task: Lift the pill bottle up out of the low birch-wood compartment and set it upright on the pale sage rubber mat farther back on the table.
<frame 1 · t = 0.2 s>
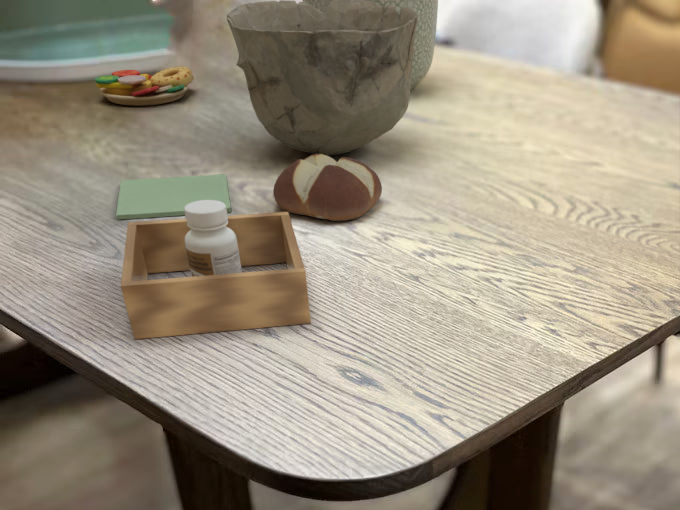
planter: (374, 90, 134), on the table
bread: (331, 207, 94), on the table
compartment: (220, 296, 76), on the table
bowl: (333, 152, 109), on the table
toy food set: (147, 98, 128), on the table
mat: (174, 198, 95), on the table
pill bottle: (221, 298, 76), resting in compartment
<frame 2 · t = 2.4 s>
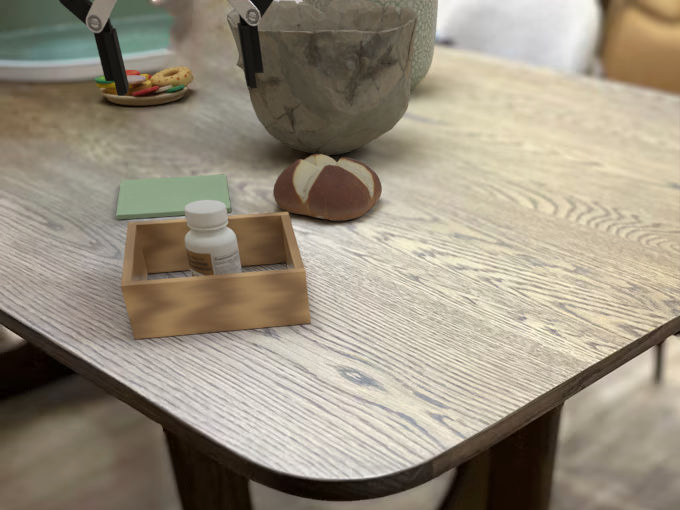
hand: (188, 88, 65), 16 cm above the table, tool pointing down, fingers open, 9 cm apart
nothing on the table moved.
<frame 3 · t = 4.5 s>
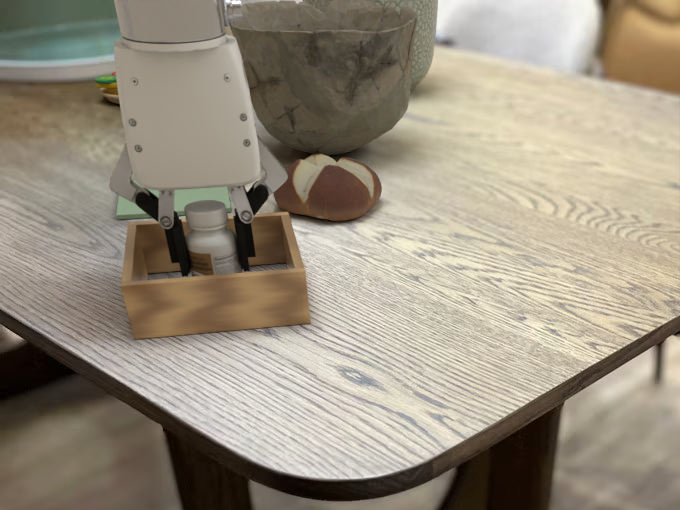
hand: (215, 265, 74), 3 cm above the table, tool pointing down, fingers closed on pill bottle, 4 cm apart
pill bottle: (221, 298, 76), resting in compartment, touching gripper
everything else where it was.
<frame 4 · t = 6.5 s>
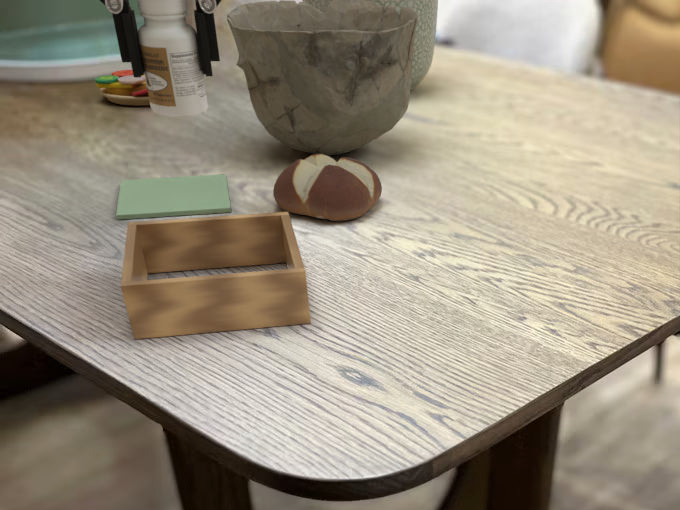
hand: (173, 70, 65), 17 cm above the table, tool pointing down, fingers closed on pill bottle, 4 cm apart
pill bottle: (180, 113, 67), point 14 cm above the table, touching gripper
everything else where it was.
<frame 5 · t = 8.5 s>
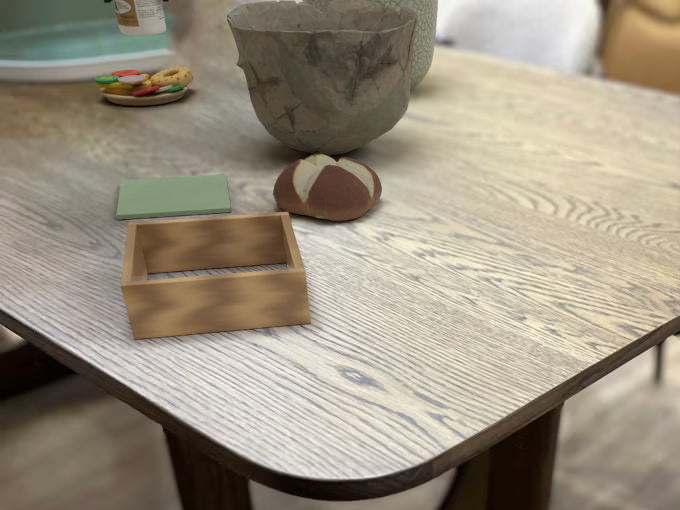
pill bottle: (144, 34, 82), point 16 cm above the table, touching gripper
everything else where it was.
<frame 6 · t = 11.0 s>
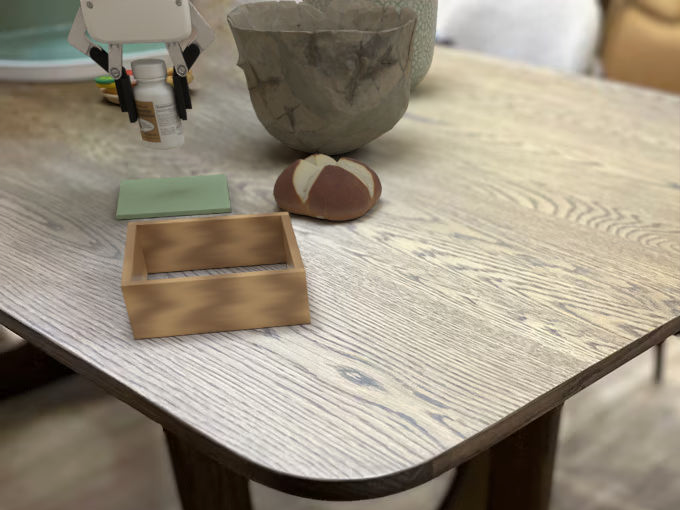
hand: (158, 116, 89), 8 cm above the table, tool pointing down, fingers closed on pill bottle, 4 cm apart
pill bottle: (164, 146, 91), point 5 cm above the table, touching gripper
everything else where it was.
when the fingers open (3 cm above the table, at t = 12.6 s): pill bottle stays where it is, resting on mat.
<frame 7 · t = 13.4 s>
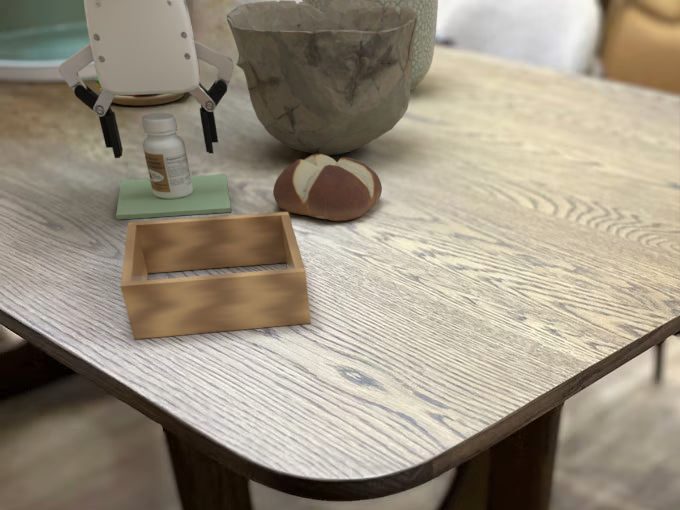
hand: (164, 152, 92), 5 cm above the table, tool pointing down, fingers open, 9 cm apart
pill bottle: (173, 195, 95), resting on mat
everything else where it was.
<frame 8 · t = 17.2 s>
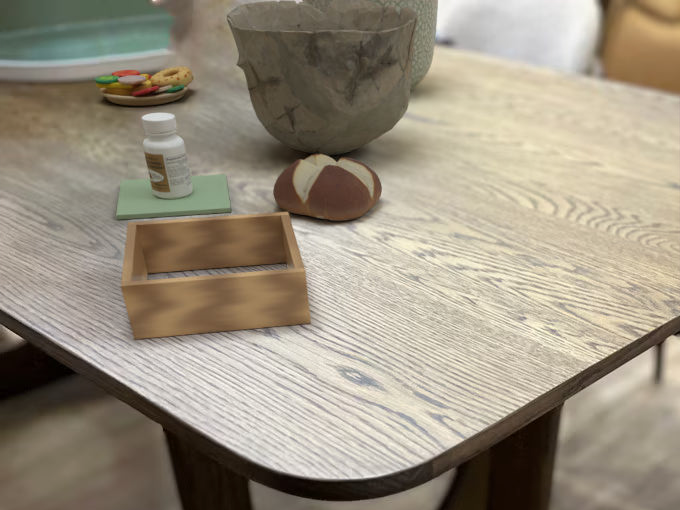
nothing on the table moved.
at the end: pill bottle inside the target area on the mat (0.0 cm from its centre), point 0.3 cm above the mat's base; pill bottle tilted 0°; the gripper is holding nothing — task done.
